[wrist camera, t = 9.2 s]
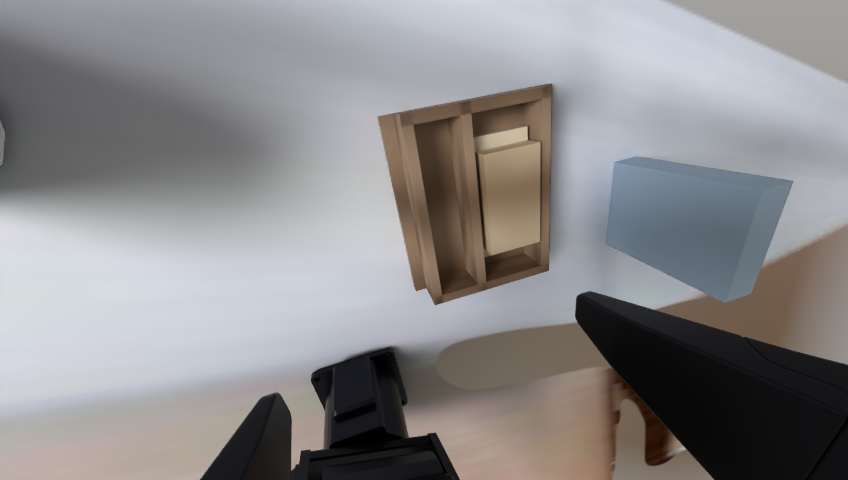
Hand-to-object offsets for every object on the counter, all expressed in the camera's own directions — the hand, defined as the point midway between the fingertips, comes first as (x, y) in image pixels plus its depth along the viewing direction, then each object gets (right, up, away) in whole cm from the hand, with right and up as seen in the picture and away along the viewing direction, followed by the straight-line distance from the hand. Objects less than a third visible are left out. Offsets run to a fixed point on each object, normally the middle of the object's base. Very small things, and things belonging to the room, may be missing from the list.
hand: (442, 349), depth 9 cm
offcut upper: (+5, +6, +11) cm, 13 cm away
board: (+16, +6, +16) cm, 23 cm away
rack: (+3, +6, +12) cm, 14 cm away
